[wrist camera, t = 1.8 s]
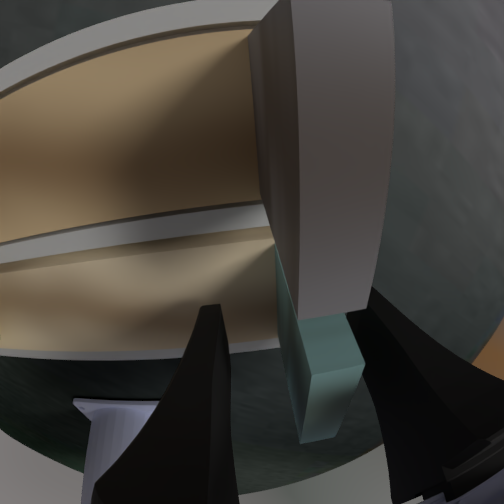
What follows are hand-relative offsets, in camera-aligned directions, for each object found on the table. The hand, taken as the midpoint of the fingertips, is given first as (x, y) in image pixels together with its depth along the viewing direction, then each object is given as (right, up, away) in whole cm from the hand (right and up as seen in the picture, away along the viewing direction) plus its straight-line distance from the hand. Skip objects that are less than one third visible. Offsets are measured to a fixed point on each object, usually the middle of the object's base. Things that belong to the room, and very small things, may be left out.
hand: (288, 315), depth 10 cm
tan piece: (-10, 0, +1) cm, 10 cm away
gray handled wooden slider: (-11, +5, -2) cm, 12 cm away
